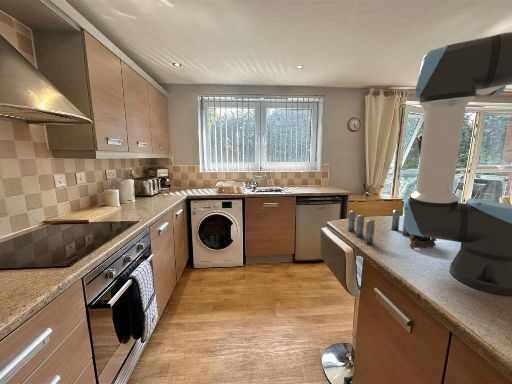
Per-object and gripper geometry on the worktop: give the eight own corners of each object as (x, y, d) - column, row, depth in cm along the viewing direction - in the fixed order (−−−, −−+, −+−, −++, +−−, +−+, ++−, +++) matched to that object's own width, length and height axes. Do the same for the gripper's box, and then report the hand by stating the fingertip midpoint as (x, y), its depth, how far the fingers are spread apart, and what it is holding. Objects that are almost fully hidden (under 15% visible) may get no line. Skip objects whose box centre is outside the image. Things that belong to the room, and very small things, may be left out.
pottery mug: (442, 251, 86) (443, 236, 82) (423, 263, 85) (422, 248, 81) (414, 233, 96) (413, 220, 92) (396, 244, 95) (395, 230, 91)
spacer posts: (426, 243, 92) (428, 220, 90) (367, 245, 91) (369, 221, 89) (395, 228, 110) (397, 209, 109) (346, 230, 110) (347, 210, 108)
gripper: (440, 120, 103) (434, 171, 107) (413, 121, 102) (408, 172, 106) (455, 118, 95) (448, 172, 99) (426, 118, 95) (420, 173, 99)
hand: (427, 172), depth 103 cm, fingers closed
